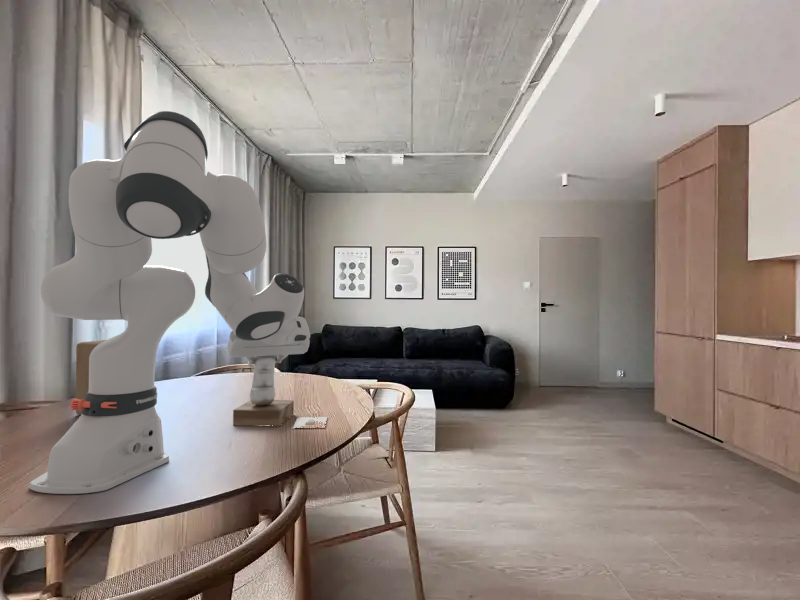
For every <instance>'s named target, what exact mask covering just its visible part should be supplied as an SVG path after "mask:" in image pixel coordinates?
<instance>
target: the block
mask: <svg viewBox="0 0 800 600" xmlns="http://www.w3.org/2000/svg"><path fill="white" fill-rule="evenodd" d="M106 340H107V339H104V340H93V341H92V340H91V341H82V342H79V343H77V344H76V347H75V348H76V350H75V351H76V353H75V357H76V359H75V361H76V362H75V365H76V366H75V399H79V400H82V399H85V396H86V393H87V392H88V391H89V357H90V354H91V352H92V350H93V349H94V348H95V347H96V346H97V345H99V344H100V343H102V342H104V341H106ZM75 414H76V415H77V416H81V415H82V413H81V410H75Z"/></svg>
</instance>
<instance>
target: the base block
mask: <svg viewBox="0 0 800 600" xmlns="http://www.w3.org/2000/svg"><path fill="white" fill-rule="evenodd" d="M294 406H295V401H294V400H290V399H287V400H285V399H284V400H283V399H274V401H273V402H272V403H271V404H268V405H263V406H260V405H255V404H252V403H251V401H250V400H249V401H246V402H245V403H243V404H242V405H239V406H238V407H236V408H235V409H232V411H233V412H232V413H233V414H232V426H233V425H270V426H272V425H273V426H280V425H281V424H282V423H283V422H285V421H286V420H287V419H288V418H289V417H290V418H292V417H293V416H294V415H293V414H294V412H295V411H294V410H295V409H294V408H295V407H294ZM292 415H293V416H292ZM291 416H292V417H291ZM290 418H289V419H290ZM289 419H288V420H289ZM288 420H287V421H288ZM287 421H286V422H287ZM286 422H285V423H286ZM283 424H284V423H283ZM283 424H282V425H283ZM282 425H281V426H282ZM281 426H280V427H281Z"/></svg>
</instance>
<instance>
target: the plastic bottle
mask: <svg viewBox="0 0 800 600" xmlns="http://www.w3.org/2000/svg"><path fill="white" fill-rule="evenodd" d="M276 356H277V355H272V356H254V359H255V363H254V365H253V376H252V382H251V388H250V392H249V401H251V403H252V404H255V405H260V406H263V405H268V404H271V403H272V402H273V401H274V400H275V396H276V391H275V389H276V388H275V376H274V375H275V368H276V363H275V361H276Z"/></svg>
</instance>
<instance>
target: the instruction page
mask: <svg viewBox="0 0 800 600" xmlns="http://www.w3.org/2000/svg"><path fill="white" fill-rule="evenodd" d="M312 417H313V418H312ZM312 417H311V416H305V417H299V416H298V417H296V420H295V422H294V424H293V427H292V429H293V428H296V427H297V428H300V427H301V426H306V425H307V426H308V425H315V422H316V421H318V423H319V422H320V421H321V422H323V424H324V423H325V424H326V425H327V422H326V421H327V420H328V417H327V416H312ZM314 417H315V418H314ZM317 417H318V419H317ZM312 421H313V422H312ZM314 421H315V422H314ZM321 422H320V423H321ZM320 425H321V424H320ZM326 425H325V426H326ZM323 426H324V425H323ZM323 426H322V427H323ZM325 426H324V427H325ZM301 428H302V427H301ZM325 428H326V427H325Z"/></svg>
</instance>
